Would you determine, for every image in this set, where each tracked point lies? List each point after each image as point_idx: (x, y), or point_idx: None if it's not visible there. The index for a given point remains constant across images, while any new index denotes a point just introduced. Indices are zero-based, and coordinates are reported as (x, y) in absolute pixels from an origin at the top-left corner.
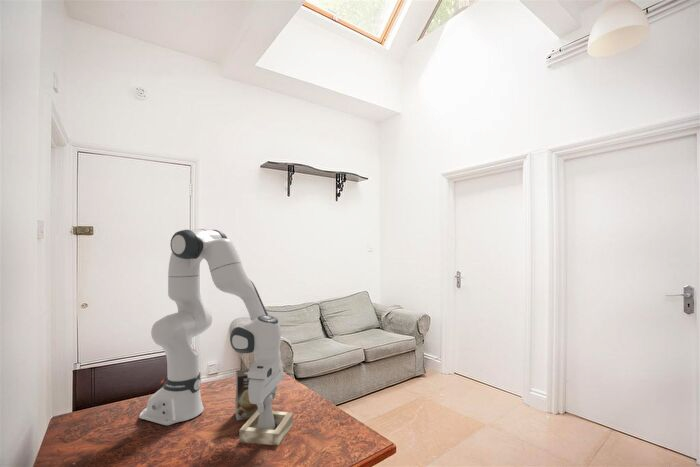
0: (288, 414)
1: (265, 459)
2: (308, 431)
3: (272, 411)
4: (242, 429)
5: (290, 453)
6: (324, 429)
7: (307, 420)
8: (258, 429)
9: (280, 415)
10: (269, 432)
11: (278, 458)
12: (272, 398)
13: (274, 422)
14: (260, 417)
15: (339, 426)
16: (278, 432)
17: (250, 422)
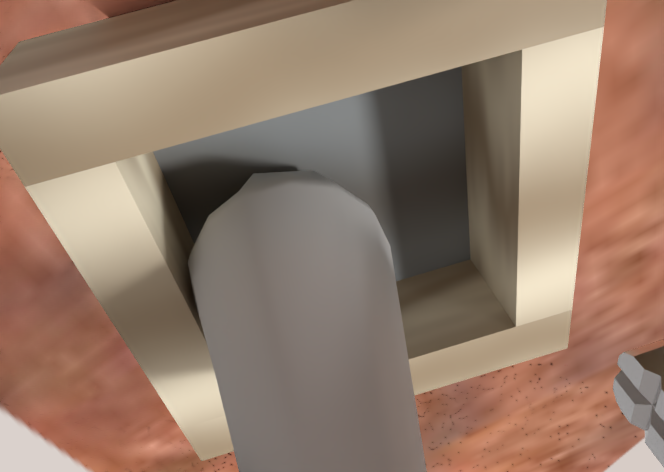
0: (531, 337)
1: (19, 397)
2: (446, 396)
3: (571, 172)
4: (12, 138)
5: (183, 453)
6: (490, 440)
7: (579, 323)
8: (154, 300)
9: (511, 278)
10: (177, 404)
11: (92, 440)
12: (622, 387)
13: (474, 177)
14: (217, 371)
15: (535, 468)
16: (222, 448)
17: (228, 109)
